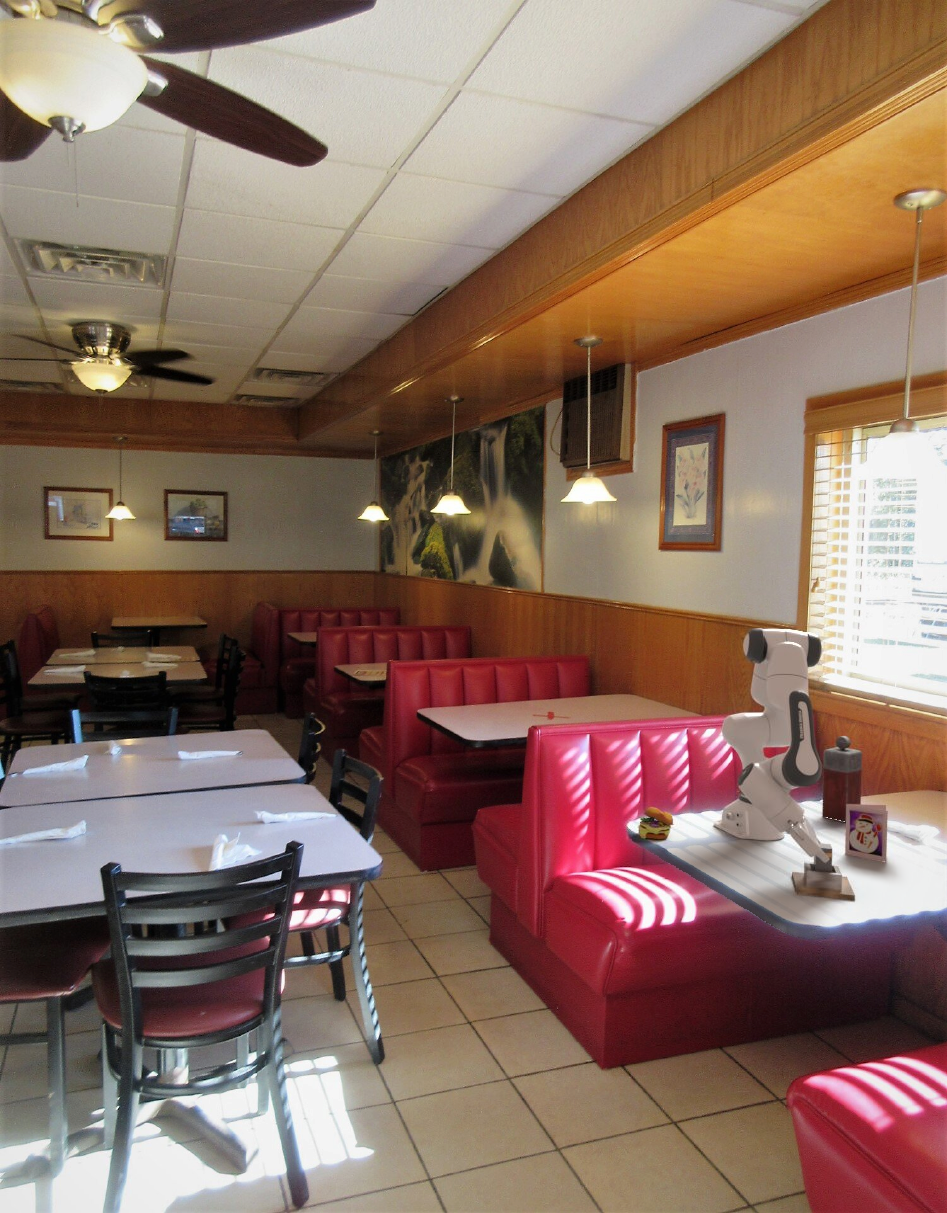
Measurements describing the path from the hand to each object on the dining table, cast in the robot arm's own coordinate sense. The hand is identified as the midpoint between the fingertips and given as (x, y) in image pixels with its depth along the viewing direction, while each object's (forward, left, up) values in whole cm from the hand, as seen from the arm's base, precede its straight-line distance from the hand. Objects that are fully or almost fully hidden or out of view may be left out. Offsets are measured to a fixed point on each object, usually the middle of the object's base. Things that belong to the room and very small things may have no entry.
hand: (825, 855), depth 231 cm
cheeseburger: (-56, -9, -9) cm, 58 cm away
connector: (0, 0, -7) cm, 7 cm away
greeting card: (-11, +34, -9) cm, 37 cm away
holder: (0, 0, -9) cm, 9 cm away
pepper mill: (-41, +62, -9) cm, 75 cm away
